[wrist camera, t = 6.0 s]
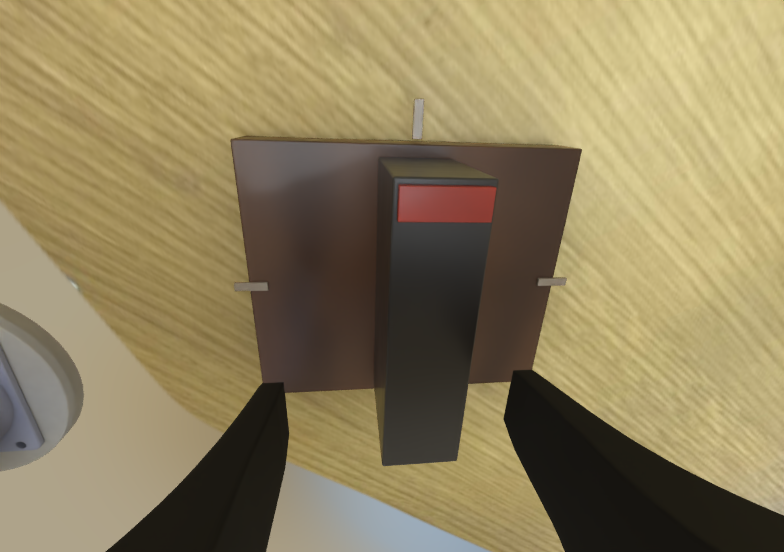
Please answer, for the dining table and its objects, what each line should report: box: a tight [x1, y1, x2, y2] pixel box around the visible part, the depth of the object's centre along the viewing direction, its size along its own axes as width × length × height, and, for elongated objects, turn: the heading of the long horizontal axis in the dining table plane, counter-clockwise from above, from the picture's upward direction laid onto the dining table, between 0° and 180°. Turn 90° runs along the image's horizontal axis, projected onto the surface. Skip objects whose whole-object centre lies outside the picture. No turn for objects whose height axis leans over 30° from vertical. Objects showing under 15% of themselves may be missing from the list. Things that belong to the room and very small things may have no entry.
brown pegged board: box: [231, 99, 582, 393], centre depth 18 cm, size 15×15×2 cm
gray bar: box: [374, 157, 499, 466], centre depth 14 cm, size 11×3×5 cm, turn 178°
